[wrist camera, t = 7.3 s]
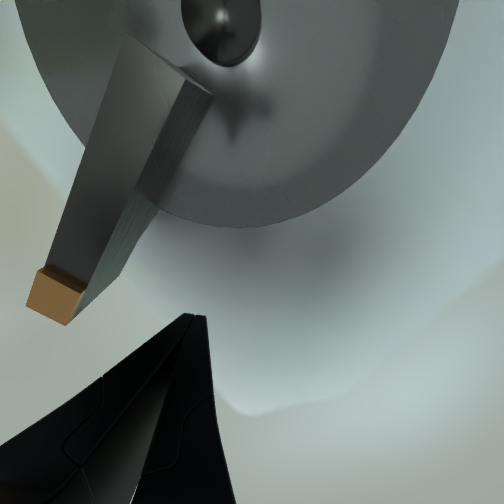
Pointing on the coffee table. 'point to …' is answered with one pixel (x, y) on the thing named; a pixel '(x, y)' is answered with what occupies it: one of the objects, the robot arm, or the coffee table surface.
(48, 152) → the coffee table surface
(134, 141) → the lid
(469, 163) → the coffee table surface
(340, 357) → the coffee table surface
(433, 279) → the coffee table surface
